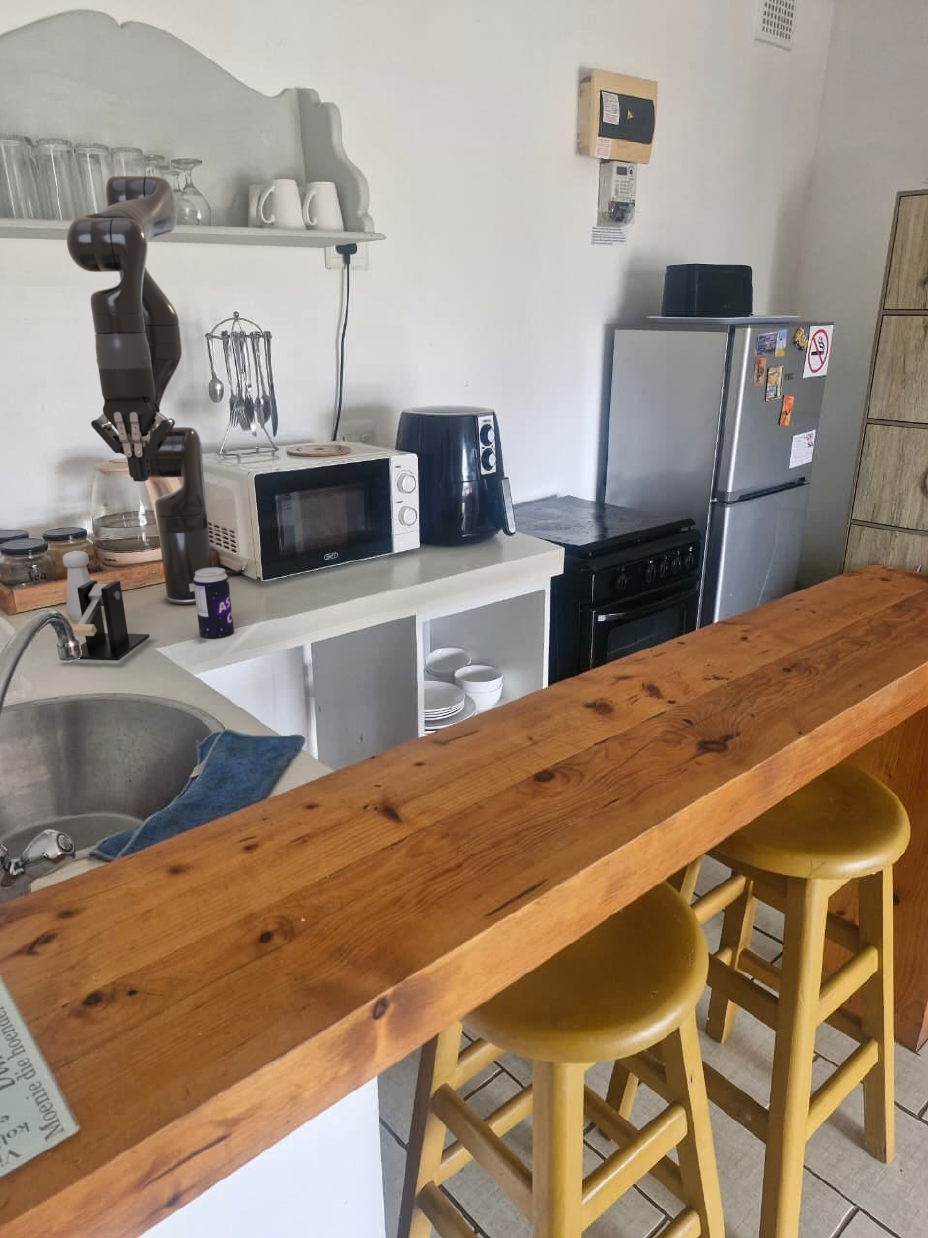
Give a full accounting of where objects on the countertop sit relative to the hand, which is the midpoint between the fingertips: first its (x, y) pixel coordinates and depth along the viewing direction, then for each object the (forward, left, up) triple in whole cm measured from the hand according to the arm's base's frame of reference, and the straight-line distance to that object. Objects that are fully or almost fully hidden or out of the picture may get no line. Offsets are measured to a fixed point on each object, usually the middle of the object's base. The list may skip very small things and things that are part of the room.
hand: (141, 480), depth 135 cm
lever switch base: (+1, -9, -28) cm, 30 cm away
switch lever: (+4, -9, -21) cm, 23 cm away
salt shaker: (-14, -21, -29) cm, 38 cm away
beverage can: (-7, +7, -29) cm, 30 cm away
